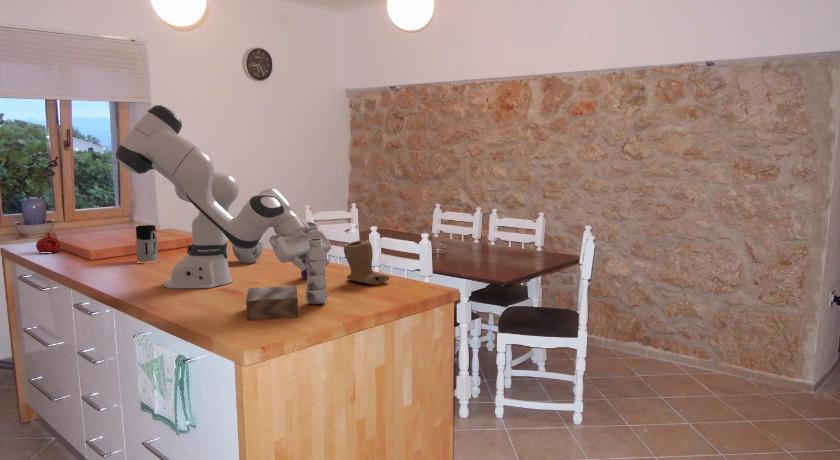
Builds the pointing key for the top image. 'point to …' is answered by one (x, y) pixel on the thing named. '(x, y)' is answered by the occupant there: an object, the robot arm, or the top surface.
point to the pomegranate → (48, 244)
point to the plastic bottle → (316, 273)
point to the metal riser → (272, 303)
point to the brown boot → (362, 263)
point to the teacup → (248, 253)
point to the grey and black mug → (146, 243)
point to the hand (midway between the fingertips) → (316, 267)
